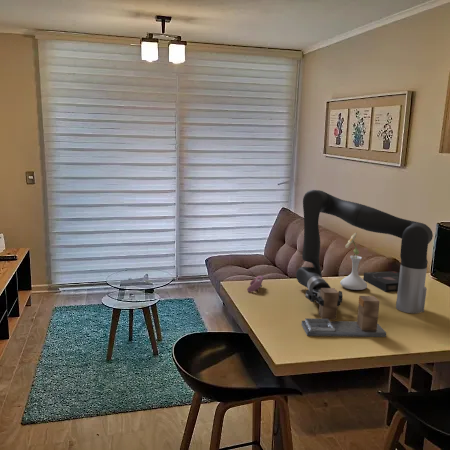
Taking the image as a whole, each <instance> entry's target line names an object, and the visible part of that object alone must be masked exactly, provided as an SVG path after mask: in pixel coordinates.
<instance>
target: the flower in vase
mask: <svg viewBox="0 0 450 450" xmlns="http://www.w3.org/2000/svg"><path fill="white" fill-rule="evenodd" d="M357 233H358V232H353V234H352V235H351V236H350V239H348V240H347V243H346V244H345V249H348V248H349V247H350V246H351V245H352V244H353V245H354V246H355V248H354V249H353V254H354V255H350V256H349V258H350V260H351V263H352V264H351V265H352V266H351V267H352V269H351V273H350V274H349V275H346V276H345V277H343V278H342V279H341V280H340V282H339V283H340V285H341V287H342V288H344V289H348V290H352V291H353V290H354V291H360V290H365V289H367V288H368V282H366V281H364V280H363V277H361V276H360V275H359V273H358V271H359V264H360V262H361V261H362V259H363V257H362V256H359V254H360V251H359V250H358V248H357V246H356V243H355V239H356V237H357V235H358V234H357Z"/></svg>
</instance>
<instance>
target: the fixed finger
mask: <svg viewBox="0 0 450 450" xmlns="http://www.w3.org/2000/svg"><path fill="white" fill-rule="evenodd" d="M380 302H381V301H380V300H379V299H378V298H377V297H376V296H375V295H359V297H358V308H357V318H356V321H357V325H358V326H359V327H360V328H361V329H362V330H377V323H378V322H379V321H378V319H379V311H380V310H379V309H380Z"/></svg>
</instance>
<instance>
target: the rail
mask: <svg viewBox="0 0 450 450" xmlns="http://www.w3.org/2000/svg"><path fill="white" fill-rule="evenodd" d="M301 327H302V328H303V330H304V333H305V335H306V336H308V337H355V338H357V337H358V338H361V337H364V338H366V337H367V338H370V337H371V338H372V337H373V338H376V337H377V338H386V337H387V332H386V331H385V330H384V328H382V326H381V325H380V324H379V323H378V322H377V330H362V329H361V328H360V327H359V326H358V325H357V320H356V321H353V320H352V321H350V320H349V321H347V320H346V321H345V320H329V319H322V318H310V317H309V318H305V319H304V320H301Z"/></svg>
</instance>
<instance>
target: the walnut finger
mask: <svg viewBox="0 0 450 450" xmlns="http://www.w3.org/2000/svg"><path fill="white" fill-rule="evenodd" d="M320 296H321V297H322V299H323V300H324V306H321V305H320V304H319V303H318V305H319V307H318V315H319V317H320V319H329V321H337V316H338V315H337V313H338V306H337V303H338V297H339V290H337V289H336V288H334V287H331V288H321V292H320Z"/></svg>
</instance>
